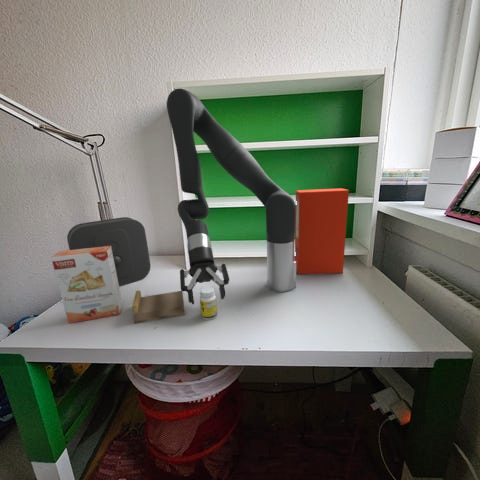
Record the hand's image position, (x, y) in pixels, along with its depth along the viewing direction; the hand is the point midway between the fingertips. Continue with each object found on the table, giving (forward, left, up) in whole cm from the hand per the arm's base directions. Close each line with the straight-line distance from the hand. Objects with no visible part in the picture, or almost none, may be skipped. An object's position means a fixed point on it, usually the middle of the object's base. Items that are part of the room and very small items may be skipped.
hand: (208, 301), depth 71 cm
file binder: (-47, -19, -5) cm, 51 cm away
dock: (+14, -9, -5) cm, 17 cm away
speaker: (+31, -35, -5) cm, 47 cm away
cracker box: (+33, -13, -5) cm, 36 cm away
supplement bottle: (0, -1, -5) cm, 5 cm away
